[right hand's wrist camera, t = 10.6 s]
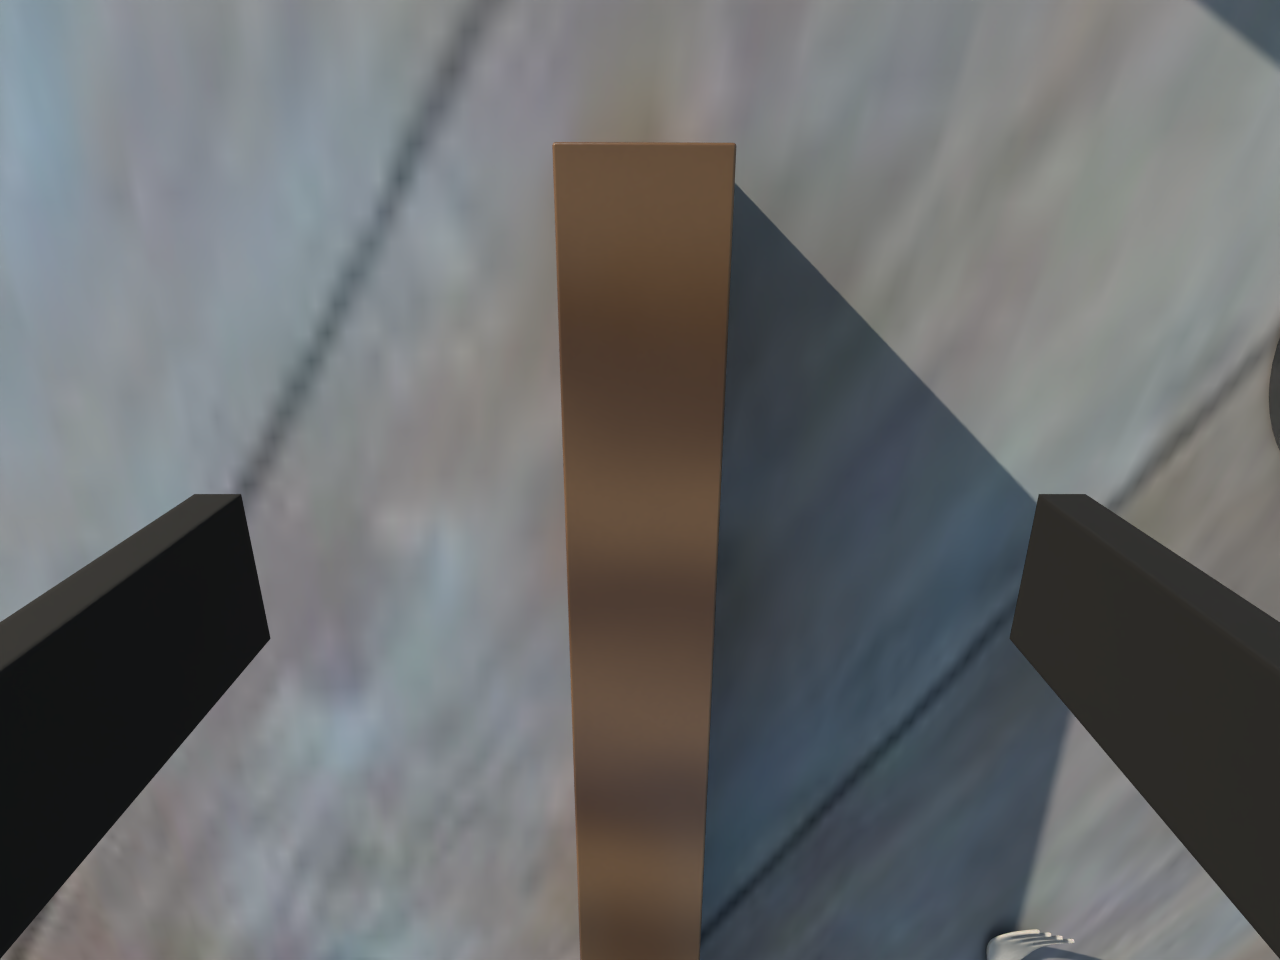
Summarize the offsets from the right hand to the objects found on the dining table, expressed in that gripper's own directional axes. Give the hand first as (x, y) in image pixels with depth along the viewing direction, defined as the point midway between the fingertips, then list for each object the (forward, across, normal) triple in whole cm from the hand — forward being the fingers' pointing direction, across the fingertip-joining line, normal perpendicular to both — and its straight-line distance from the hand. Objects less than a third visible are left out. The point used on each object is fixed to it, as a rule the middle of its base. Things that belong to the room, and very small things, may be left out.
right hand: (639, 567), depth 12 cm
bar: (+20, 0, -34) cm, 39 cm away
